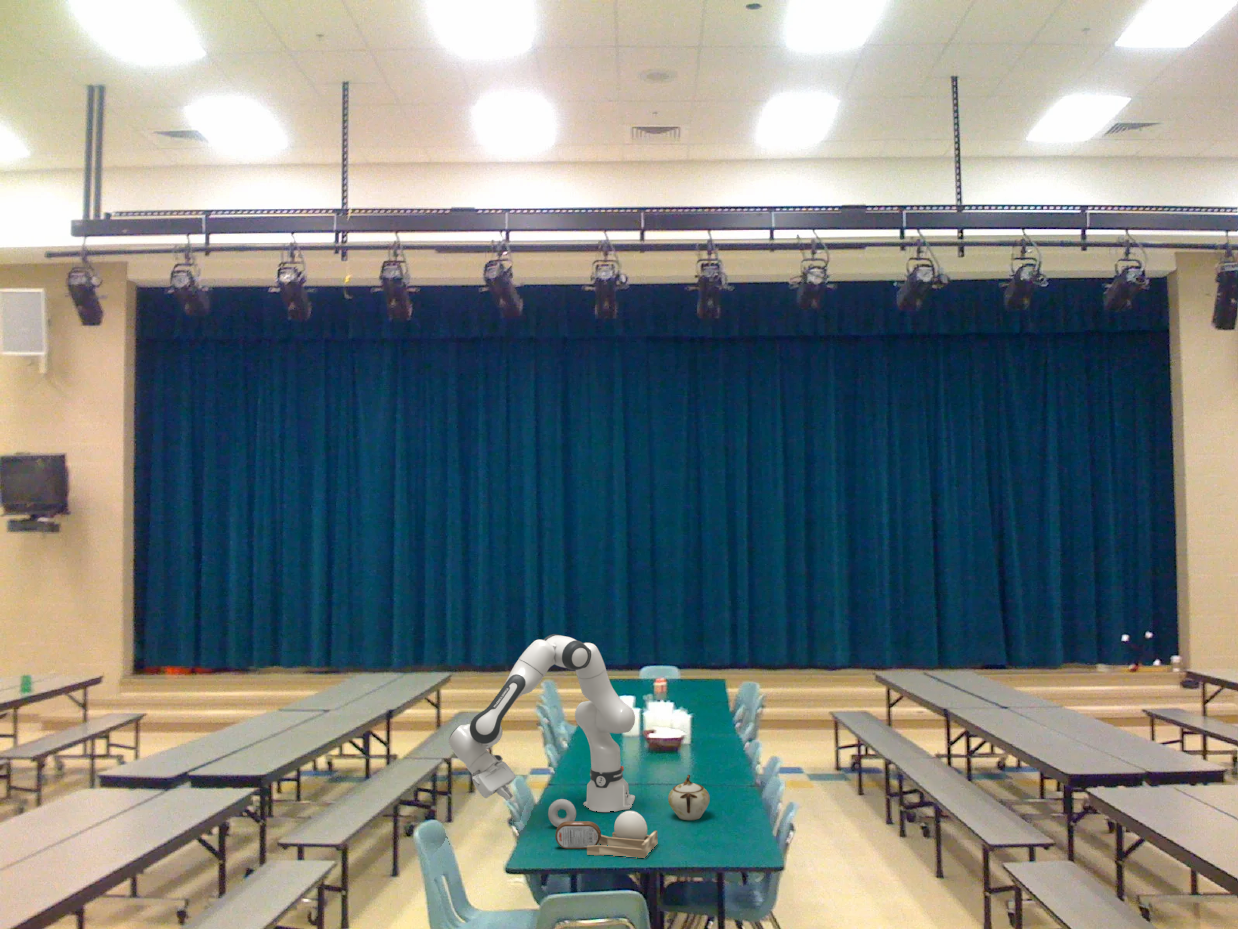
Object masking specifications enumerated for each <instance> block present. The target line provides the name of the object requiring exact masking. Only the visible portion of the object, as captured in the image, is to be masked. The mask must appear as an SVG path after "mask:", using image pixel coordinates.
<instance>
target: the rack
mask: <svg viewBox="0 0 1238 929" xmlns="http://www.w3.org/2000/svg"><path fill="white" fill-rule="evenodd" d="M658 837H659V836H658V830H653V832H651V833H650V834H647V835H646V837H645V839H644V840H640V839H628V838H617V836H616V834H615V831H613V832H612V836H607V835H604V834H601V838H600V841H599V843H598V844H597V845H591V846H587V849H586V855H594V856H604V855H613V856H612V857H615V856H626V857H636V858H635V859H637V857H638V858H645V857H646V856H647V855H648V853H649V852H651V850H652V849H653V850H654V849H655V848H656V847H657V846H658V845H657V844H659V843H658V841H659V840H658ZM600 844H601V845H600ZM607 845H608V846H607ZM656 845H657V846H656ZM655 846H656V847H655ZM654 847H655V848H654ZM653 850H652V851H653ZM651 853H652V852H651ZM648 856H649V855H648ZM648 856H647V857H648ZM626 857H625V858H626ZM647 857H646V858H647ZM646 858H645V859H646Z"/></svg>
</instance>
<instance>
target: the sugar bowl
mask: <svg viewBox="0 0 1238 929" xmlns="http://www.w3.org/2000/svg"><path fill="white" fill-rule="evenodd" d="M690 778H691V775H690V774H687V776H686V779H685V780H684V781H683V782H682V783H680V784H677V785H675V786H673V788H672V789H671V790H670V791H669V793H668V796H667V799H668V800H667V801H668V805H669V806H670V808H671V809H672V811H673V812H674V813H675V814H676V816H677V817H678V818H679V820H683V821H695V820H699V819H700V818H701V817H702V816H703V814H705V811H706V810H707V808H708V806H709V804H710V797H711V796H710V794H709V792H708V791H707V789H705V787H704V786H703V785H701V784H697V783H696V782H695V783H694V782H692V781H691V780H690Z"/></svg>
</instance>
